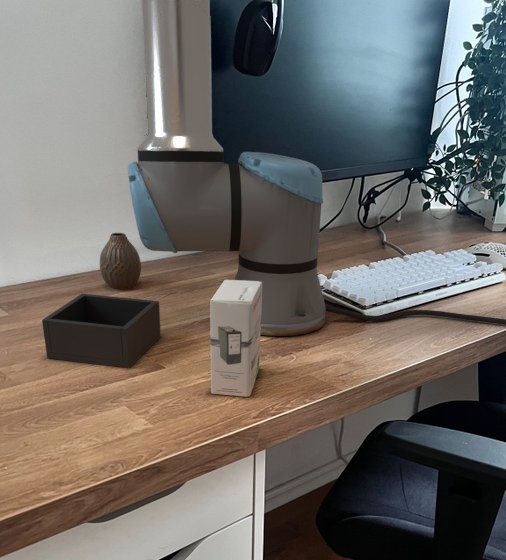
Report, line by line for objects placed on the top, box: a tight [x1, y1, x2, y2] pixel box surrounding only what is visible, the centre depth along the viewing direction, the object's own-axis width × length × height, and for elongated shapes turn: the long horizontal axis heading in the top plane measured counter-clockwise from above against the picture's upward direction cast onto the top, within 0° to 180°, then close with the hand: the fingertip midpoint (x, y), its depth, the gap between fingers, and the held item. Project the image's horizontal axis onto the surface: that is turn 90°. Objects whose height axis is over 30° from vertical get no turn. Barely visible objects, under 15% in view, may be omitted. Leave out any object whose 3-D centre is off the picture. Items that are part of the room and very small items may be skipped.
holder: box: [41, 293, 162, 369], centre depth 93 cm, size 12×12×5 cm
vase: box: [99, 232, 142, 290], centre depth 117 cm, size 7×7×9 cm
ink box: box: [209, 279, 262, 398], centre depth 83 cm, size 9×5×12 cm, turn 171°
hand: (138, 189), depth 120 cm, fingers open, 13 cm apart
